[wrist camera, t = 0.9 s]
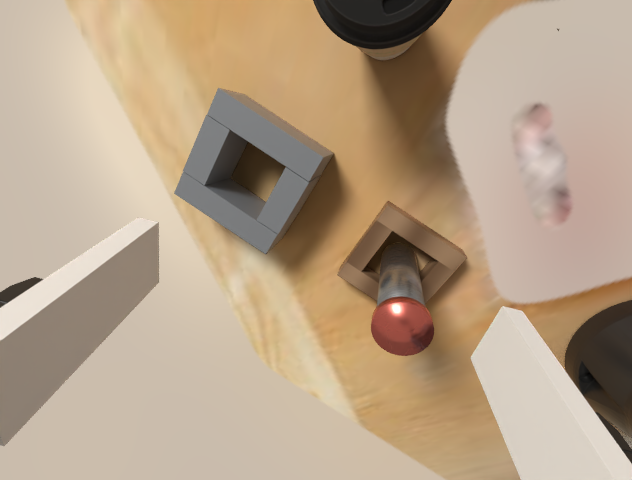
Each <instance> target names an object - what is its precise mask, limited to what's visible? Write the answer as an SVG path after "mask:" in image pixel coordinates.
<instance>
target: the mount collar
mask: <svg viewBox="0 0 632 480" xmlns="http://www.w3.org/2000/svg"><path fill="white" fill-rule="evenodd" d="M392 231H394V232H395V233H397V234H398V235H400V236H401V237H403V238H404V239H406V240H407V241H409V242H410V243H412V244H413V245H415V246H416V247H418V248H419V249H421V250H422V251H424V252H425V253H427V254H428V255H430V256H431V257H433V258H432V259H431V260H430V261H429V262H428V264H427V265H426V266H425V267H424V268H423V269H422V271H421V272H420V273H419V275H420V281H421V286H422V291H423V296H424V302H425V304H426V303H427V302H428V301H429V299H430V298H431V297H432V296H433V295H434V294H435V293H436V292H437V291H438V290H439V288H440V287H441V286H442V285H443V284H444V283H445V282H446V281H447V280H448V278H449V277H450V276H451V275H452V274H453V273H454V272H455V271H456V270H457V269H458V267H459V266H460V265H461V264H462V263H463V262H464V261H465V260H466V259H467V257H466V255H465V253H464V251H463V250H462V249H461V248H459V247H457V246H456V245H454V244H453V243H451V242H450V241H448V240H447V239H445V238H444V237H442V236H441V235H439V234H438V233H436V232H435V231H433V230H432V229H430V228H429V227H427V226H426V225H424V224H423V223H421V222H420V221H418V220H417V219H415V218H414V217H412V216H411V215H409V214H408V213H406V212H404V211H403V210H401V209H400V208H398V207H397V206H395V205H394V204H392V203H391V202H389V201H388V202H387V203H386V204H385V206H384V207H383V208H382V210H381V211H380V213H379V214H378V215H377V217H376V218H375V220H374V221H373V222H372V224H371V225H370V226H369V228H368V229H367V231H366V232H365V233H364V235H363V236H362V238H361V239H360V240H359V242H358V243H357V244H356V246H355V247H354V249H353V250H352V251H351V253H350V254H349V256H348V257H347V258H346V260H345V261H344V262H343V264H342V265H341V267H340V269H339V272H338V274H337V275H338V276H340V277H341V278H343V279H344V280H346V281H347V282H349V283H350V284H352V285H353V286H355V287H356V288H358V289H359V290H361V291H362V292H364V293H365V294H367V295H368V296H370V297H371V298H373V299H374V300H376V301H377V300H378V288H379V277H380V275H379V274H378V273H376V272H375V271H373V270H372V269H370V268H369V267H367V266H366V265H367V263H368V262H369V261H370V259H371V258H372V257H373V255H374V254H375V253H376V252H377V250H378V249H379V248H380V246H381V245H382V244H383V242H384V241H385V240H386V238H387V237H388V236H389V234H390V233H391V232H392Z"/></svg>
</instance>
